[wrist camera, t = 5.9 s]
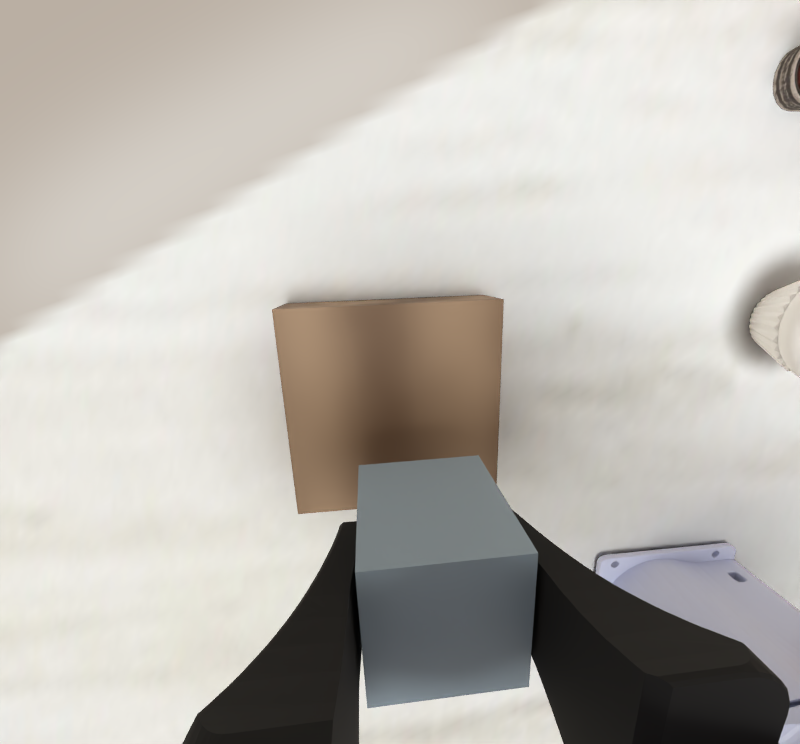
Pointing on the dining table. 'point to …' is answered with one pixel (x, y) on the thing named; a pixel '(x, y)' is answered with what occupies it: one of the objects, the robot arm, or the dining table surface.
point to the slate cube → (441, 582)
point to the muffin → (779, 326)
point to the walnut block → (386, 387)
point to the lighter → (788, 81)
